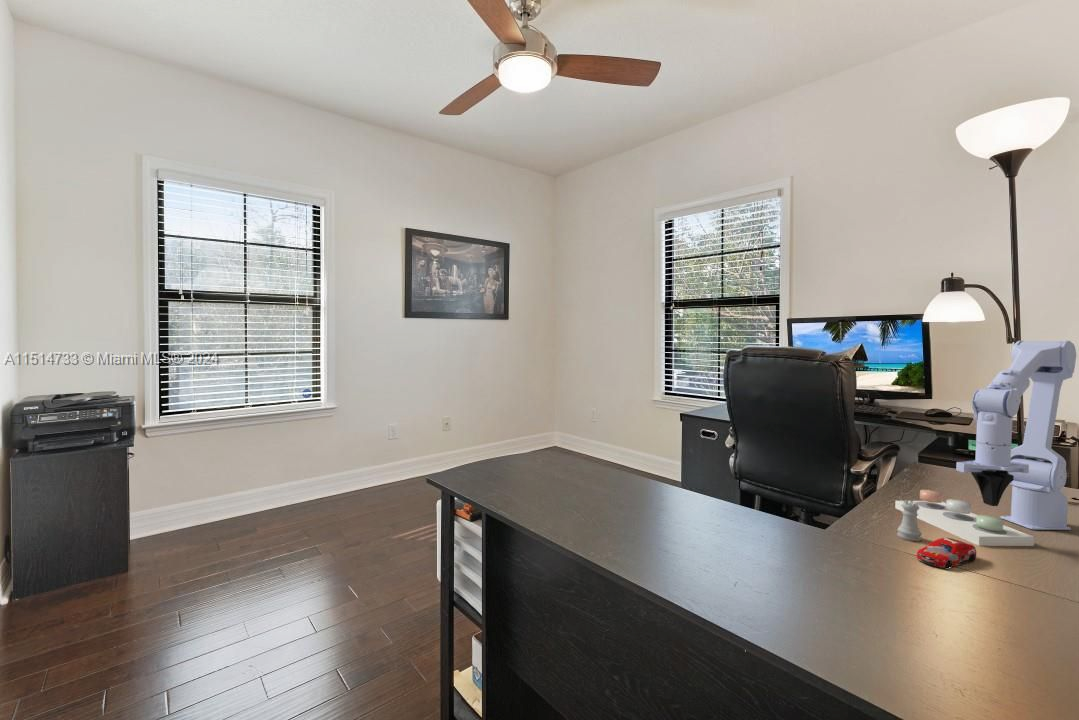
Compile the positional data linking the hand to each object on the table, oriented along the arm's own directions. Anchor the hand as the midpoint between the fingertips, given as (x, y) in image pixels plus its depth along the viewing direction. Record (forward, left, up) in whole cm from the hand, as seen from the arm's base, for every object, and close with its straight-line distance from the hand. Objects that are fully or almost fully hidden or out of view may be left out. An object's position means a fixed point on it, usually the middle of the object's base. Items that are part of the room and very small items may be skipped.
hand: (990, 504), depth 109 cm
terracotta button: (0, -16, -4) cm, 17 cm away
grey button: (0, -8, -4) cm, 9 cm away
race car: (+19, +11, -8) cm, 23 cm away
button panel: (0, -8, -8) cm, 11 cm away
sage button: (0, 0, -5) cm, 5 cm away
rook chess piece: (+18, 0, -8) cm, 20 cm away
